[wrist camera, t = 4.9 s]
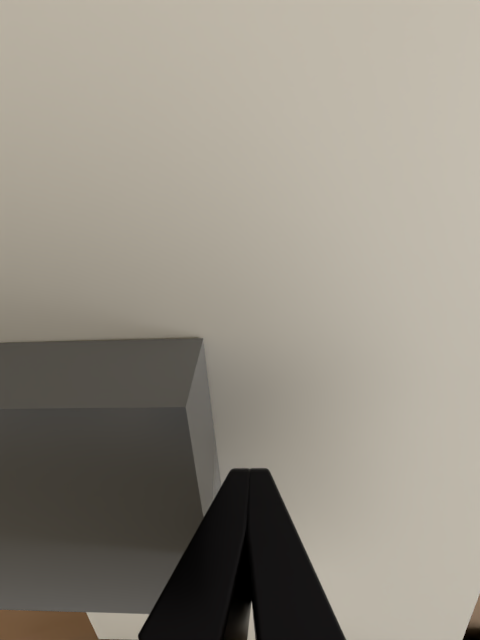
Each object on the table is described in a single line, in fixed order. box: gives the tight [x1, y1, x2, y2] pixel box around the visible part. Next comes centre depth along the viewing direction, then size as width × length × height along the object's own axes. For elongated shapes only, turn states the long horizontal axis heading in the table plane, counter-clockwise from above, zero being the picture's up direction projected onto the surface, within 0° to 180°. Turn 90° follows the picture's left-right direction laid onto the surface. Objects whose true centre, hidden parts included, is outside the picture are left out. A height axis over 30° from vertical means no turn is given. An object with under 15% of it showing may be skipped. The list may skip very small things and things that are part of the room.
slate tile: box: [0, 338, 221, 614], centre depth 9 cm, size 6×8×2 cm
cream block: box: [0, 0, 480, 640], centre depth 10 cm, size 18×12×2 cm, turn 4°
